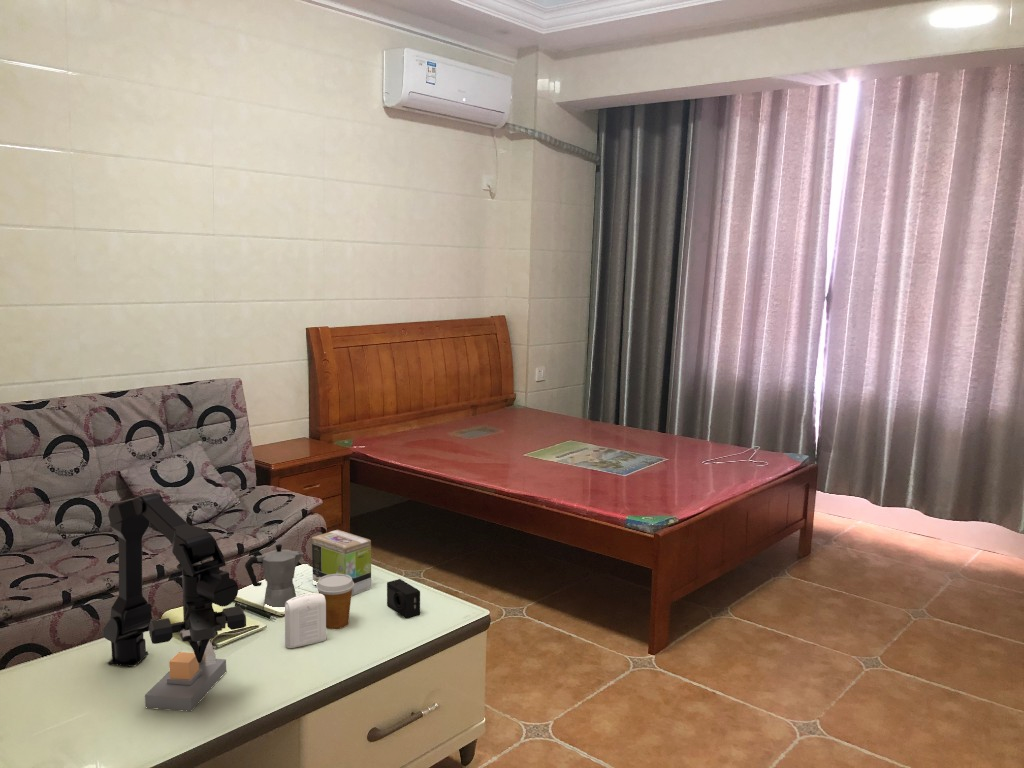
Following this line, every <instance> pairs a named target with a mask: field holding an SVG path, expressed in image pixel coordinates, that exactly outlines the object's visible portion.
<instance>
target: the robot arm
mask: <svg viewBox="0 0 1024 768" xmlns="http://www.w3.org/2000/svg"><path fill="white" fill-rule="evenodd" d="M107 512H108V514H107V516H108V519H109V524H110V528H111V529H112V531H113V532H114V533H115V535H116V536H117V537H118V596H117V598H116V600H115V601H114V603H113V605H112V606H111V608H110V609H111V610H110V618H109V619H108V621H107V623H106V624H105V625H104V627H103V628H102V632H103V637H104V639H105V640H107V641H109V642H110V645H111V660H109V661H108V662H107V665H109V666H121V667H123V666H124V667H135V666H136V665H138V664H139V663H140V662H141V661H142V660H144V658H146V657H147V656H148V655H149V651H147V646H146V643H147V642H146V639H145V637H144V633H148V632H149V637H150V641H151V644H152V645H158V644H161V643H162V644H163V643H169V642H170V641H171V640H172V639H173V637H174V634H175V633H176V634H177V633H179V635H180V638H181V640H182V642H184V643H185V642H187V643H189V645H190V647H191V649H192V651H193V653H195V656H196V659H197V661H198V663H201V661H202V658H203V655H204V652H205V649H206V647H207V644H208V642H209V640H212V639H215V638H216V637H217V636H218V634H219V633H218V632H220V631H222V630H223V629H225V628H226V626H227V628H229V629H230V631H231V630H232V631H233V630H238V629H244V628H245V627H247V617H246V614H245V611H244V610H243V608H242V607H241V606H239V605H237V606H232V607H227V606H229V605H231V604H232V603H233V602H234V601H235V600H236V598H237V596H238V593H239V585H238V582H237V581H236V580H235V579H234V578H231V577H230V573H229V572H228V571H226V570H221V569H220V568H223V567H225V566H226V561H225V556H224V554H223V552H222V550H221V549H220V547H219V545H218V543H217V540H216V538H215V537H214V536H213V535H212V534H211V533H210V532H209V531H208V530H206V529H204V528H202V527H200V526H195V525H191V524H189V523H188V522H187V521H185V519H184V518H183V517H182V516H180V515H179V514H178V513H177V512H176V511H175V510H174V509H173V508H172V507H171V506H170V505H169V504H167V502H166V501H165V500H164V499H163V497H162V495H161V494H160V493H159V492H151V493H147V494H142V495H138V496H137V497H134V498H129V499H125V500H121V501H117V502H114V503H112V504H111V506H109V509H108V511H107ZM151 524H152V525H153V526H154V528H155V529H157V530H158V531H159V532H160V533H161V534H162V535H163V536H164V537H165V538H166V539H167V540H168V541H169V542H170V544H171V545H172V546H171V550H172V551H171V552H172V555H174V557H175V558H176V560H177V561H178V563H179V564H177V565H176V568H177V569H178V570H180V571H181V572H182V573H181V575H182V576H181V580H182V608H183V610H182V611H183V613H182V614H183V615H182V616H183V621H178V622H173V623H171V620H170V617H169V618H163V619H162V618H161V619H157V620H156V619H155V620H152V619H153V617H152V616H153V614H152V610H153V609H152V607H153V606H152V604H151V603H149V602H148V600H146V598H145V597H144V596H143V537H144V535H145V533H146V532H147V530H149V529H148V528H149V527H150V525H151ZM210 559H212V560H210ZM207 560H210V561H207ZM204 561H206V562H204ZM202 562H203V563H202ZM213 604H214V605H217V606H219V607H224V608H222V610H221V611H217V610H216V611H215V609H214V608H213ZM226 624H227V625H226Z"/></svg>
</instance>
